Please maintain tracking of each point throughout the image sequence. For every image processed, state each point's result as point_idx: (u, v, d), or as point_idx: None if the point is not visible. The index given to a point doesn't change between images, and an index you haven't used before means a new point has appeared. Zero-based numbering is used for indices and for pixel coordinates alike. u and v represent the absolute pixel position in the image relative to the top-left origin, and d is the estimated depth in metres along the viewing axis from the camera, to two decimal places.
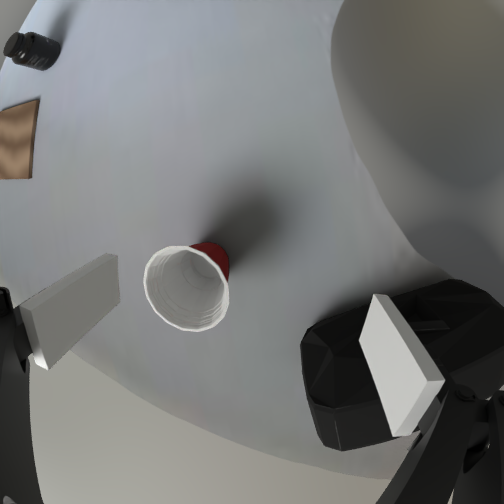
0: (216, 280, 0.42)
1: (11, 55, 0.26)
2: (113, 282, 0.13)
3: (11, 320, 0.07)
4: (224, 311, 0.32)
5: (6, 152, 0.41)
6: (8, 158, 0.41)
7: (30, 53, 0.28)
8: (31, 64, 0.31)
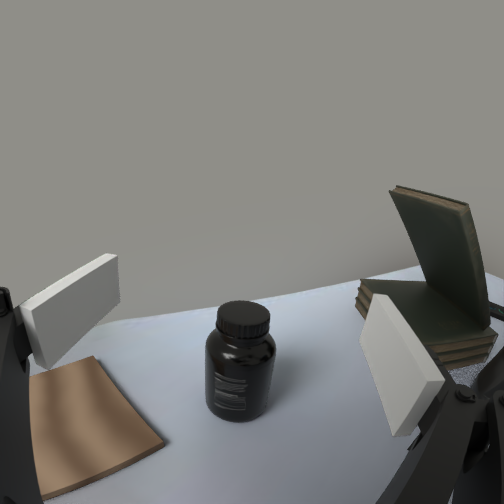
0: None
1: (226, 332, 0.24)
2: (113, 282, 0.13)
3: (11, 320, 0.07)
4: None
5: (39, 412, 0.20)
6: (31, 424, 0.18)
7: (248, 371, 0.24)
8: (221, 386, 0.24)
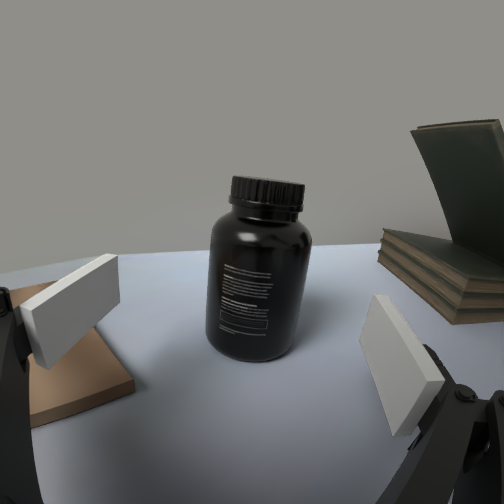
0: None
1: (246, 195, 0.17)
2: (113, 282, 0.13)
3: (11, 320, 0.07)
4: None
5: None
6: None
7: (275, 257, 0.16)
8: (232, 290, 0.17)
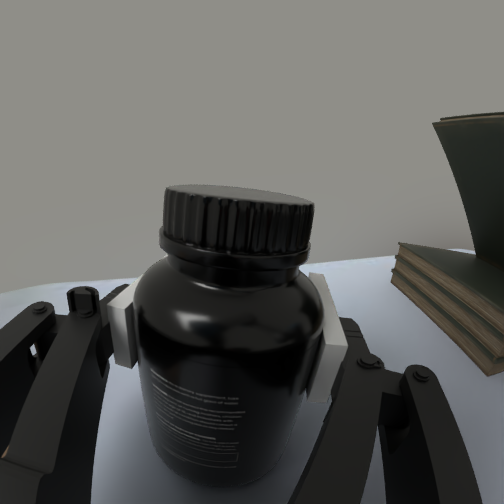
0: None
1: (183, 233, 0.07)
2: None
3: (96, 324, 0.08)
4: None
5: None
6: None
7: (248, 371, 0.07)
8: (169, 410, 0.08)
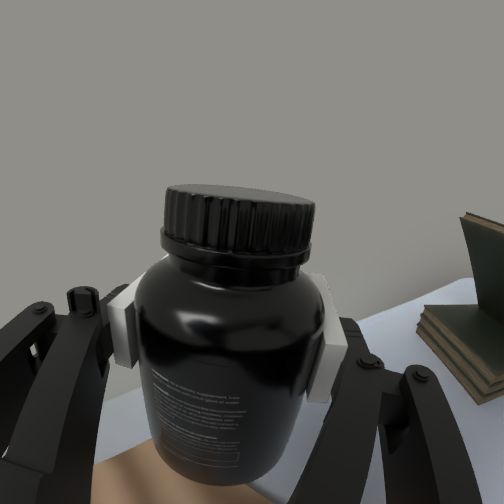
0: None
1: (184, 232, 0.07)
2: None
3: (96, 323, 0.08)
4: None
5: None
6: None
7: (249, 370, 0.07)
8: (170, 410, 0.08)
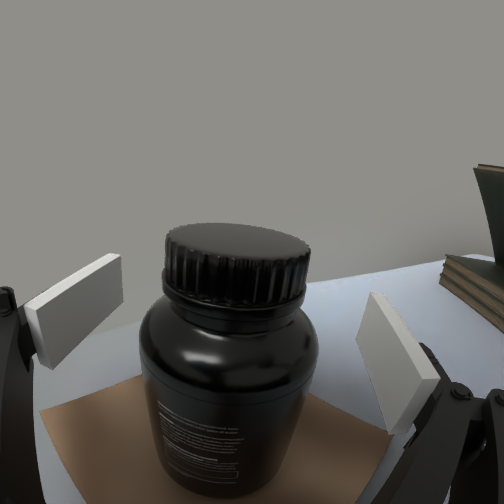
0: None
1: (184, 284, 0.08)
2: (116, 282, 0.14)
3: (15, 320, 0.07)
4: None
5: None
6: (160, 477, 0.10)
7: (246, 407, 0.07)
8: (175, 436, 0.08)
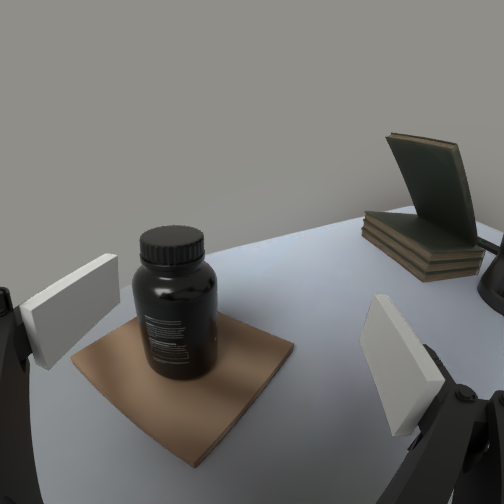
0: None
1: (150, 259, 0.19)
2: (113, 282, 0.13)
3: (11, 320, 0.07)
4: None
5: None
6: (150, 374, 0.22)
7: (182, 308, 0.19)
8: (154, 333, 0.20)
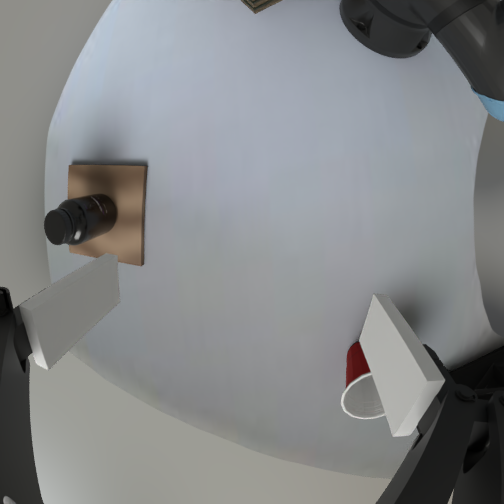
0: None
1: None
2: (113, 282, 0.13)
3: (11, 320, 0.07)
4: None
5: None
6: None
7: (87, 237, 0.36)
8: None
